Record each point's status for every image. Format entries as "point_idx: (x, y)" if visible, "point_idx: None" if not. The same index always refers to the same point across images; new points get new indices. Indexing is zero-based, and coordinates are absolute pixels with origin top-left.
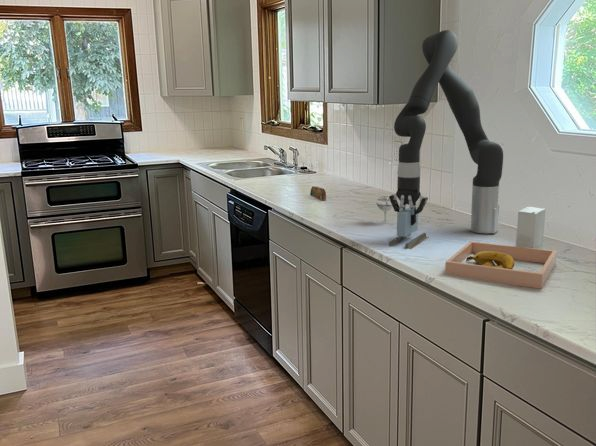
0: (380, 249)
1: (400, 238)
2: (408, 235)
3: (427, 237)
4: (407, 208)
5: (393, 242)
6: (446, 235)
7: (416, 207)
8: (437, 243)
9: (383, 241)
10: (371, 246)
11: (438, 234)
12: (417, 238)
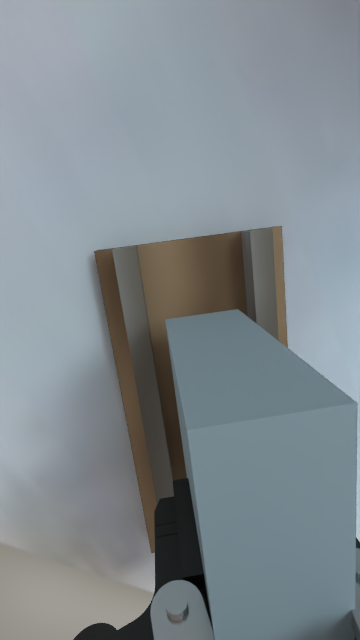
0: (133, 558)
1: (166, 437)
2: (143, 286)
3: (275, 240)
4: (219, 579)
5: None
6: (339, 5)
7: (322, 417)
8: (353, 280)
9: (43, 423)
10: (57, 542)
11: (272, 6)
12: None
